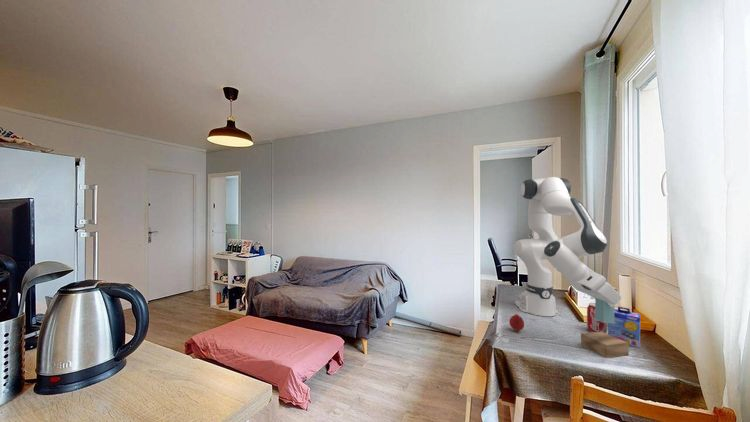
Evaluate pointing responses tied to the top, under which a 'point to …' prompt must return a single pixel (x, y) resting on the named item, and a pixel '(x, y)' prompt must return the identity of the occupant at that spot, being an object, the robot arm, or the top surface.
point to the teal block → (603, 311)
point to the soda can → (594, 320)
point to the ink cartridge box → (625, 326)
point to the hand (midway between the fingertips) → (606, 303)
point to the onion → (516, 322)
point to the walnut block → (604, 344)
